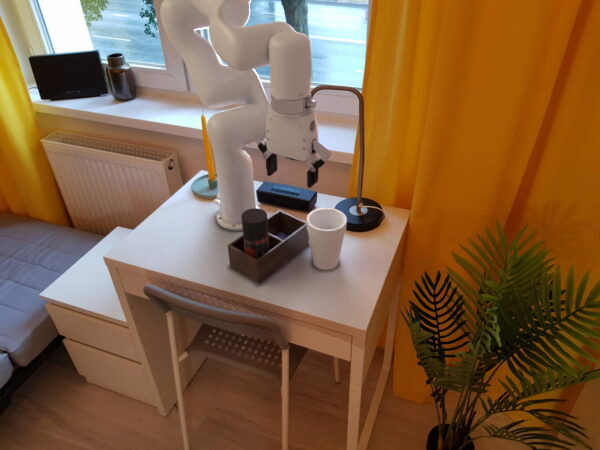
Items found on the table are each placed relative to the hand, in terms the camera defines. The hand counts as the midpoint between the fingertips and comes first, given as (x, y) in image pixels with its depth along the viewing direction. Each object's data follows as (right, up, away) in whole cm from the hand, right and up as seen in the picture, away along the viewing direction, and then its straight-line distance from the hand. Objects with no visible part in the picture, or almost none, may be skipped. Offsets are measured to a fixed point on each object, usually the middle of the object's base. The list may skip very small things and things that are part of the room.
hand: (291, 178), depth 103 cm
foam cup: (+8, -19, +18) cm, 28 cm away
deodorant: (-9, -20, +18) cm, 28 cm away
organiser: (-6, -18, +20) cm, 28 cm away
